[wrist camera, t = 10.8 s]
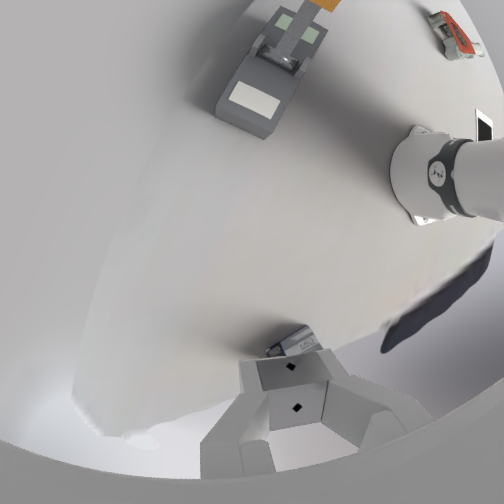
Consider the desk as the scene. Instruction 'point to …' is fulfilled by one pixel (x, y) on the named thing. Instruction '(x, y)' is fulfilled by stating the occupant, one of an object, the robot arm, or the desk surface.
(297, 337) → the label tape box
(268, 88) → the block
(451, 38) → the tape dispenser
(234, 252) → the desk surface
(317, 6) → the lever
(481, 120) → the cell phone
